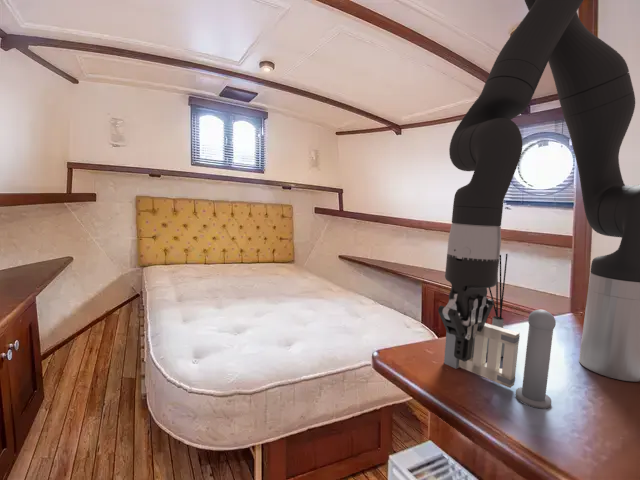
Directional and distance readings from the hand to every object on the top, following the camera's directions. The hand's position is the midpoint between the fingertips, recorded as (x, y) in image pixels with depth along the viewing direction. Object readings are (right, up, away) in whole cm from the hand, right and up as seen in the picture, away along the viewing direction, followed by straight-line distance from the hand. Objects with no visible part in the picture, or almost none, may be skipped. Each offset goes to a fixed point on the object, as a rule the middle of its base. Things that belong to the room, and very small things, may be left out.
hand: (462, 358), depth 55 cm
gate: (+5, -3, +2) cm, 6 cm away
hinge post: (+9, -5, -4) cm, 11 cm away
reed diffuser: (+11, -3, +12) cm, 17 cm away
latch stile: (+2, -4, +6) cm, 7 cm away
